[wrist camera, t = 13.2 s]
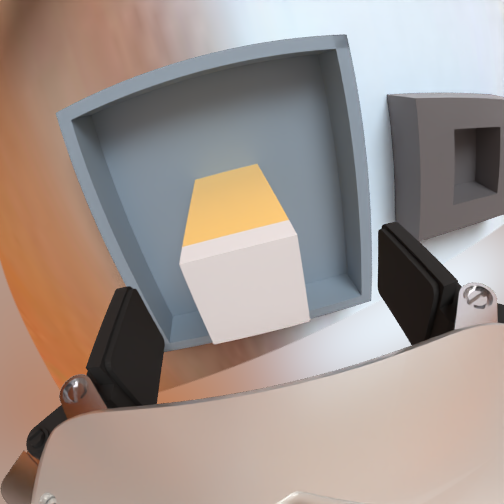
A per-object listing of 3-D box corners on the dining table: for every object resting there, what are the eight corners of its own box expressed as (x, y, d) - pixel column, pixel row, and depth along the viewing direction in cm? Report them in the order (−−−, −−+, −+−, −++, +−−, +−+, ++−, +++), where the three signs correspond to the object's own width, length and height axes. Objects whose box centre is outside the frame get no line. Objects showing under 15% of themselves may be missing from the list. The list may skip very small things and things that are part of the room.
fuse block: (491, 94, 17) (519, 100, 14) (490, 196, 22) (513, 210, 19) (387, 94, 17) (415, 98, 14) (395, 221, 22) (418, 241, 19)
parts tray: (324, 42, 15) (346, 34, 12) (353, 274, 25) (371, 300, 21) (81, 107, 16) (55, 112, 13) (168, 320, 25) (164, 351, 22)
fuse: (257, 163, 19) (297, 234, 10) (269, 220, 21) (310, 321, 12) (195, 179, 19) (179, 264, 10) (212, 234, 21) (214, 344, 12)
